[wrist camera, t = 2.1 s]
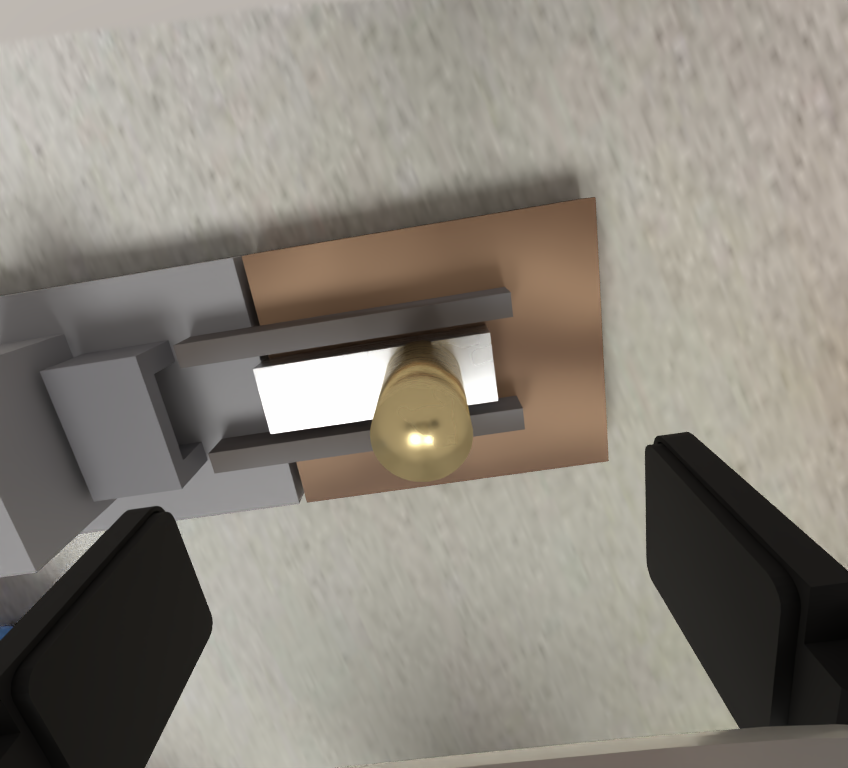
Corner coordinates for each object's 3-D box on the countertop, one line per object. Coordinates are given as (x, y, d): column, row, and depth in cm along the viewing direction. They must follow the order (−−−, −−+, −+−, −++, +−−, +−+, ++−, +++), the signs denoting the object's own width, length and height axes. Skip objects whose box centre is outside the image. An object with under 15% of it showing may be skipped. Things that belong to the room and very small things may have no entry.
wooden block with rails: (595, 443, 26) (620, 477, 23) (257, 490, 27) (232, 529, 24) (581, 198, 22) (608, 195, 19) (189, 264, 23) (149, 272, 20)
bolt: (494, 391, 23) (523, 468, 16) (280, 422, 24) (218, 510, 17) (485, 322, 22) (512, 373, 15) (263, 357, 23) (189, 421, 16)
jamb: (308, 483, 27) (261, 588, 19) (45, 519, 28) (-97, 634, 20) (248, 254, 23) (161, 273, 16) (-53, 304, 24) (-273, 346, 17)
